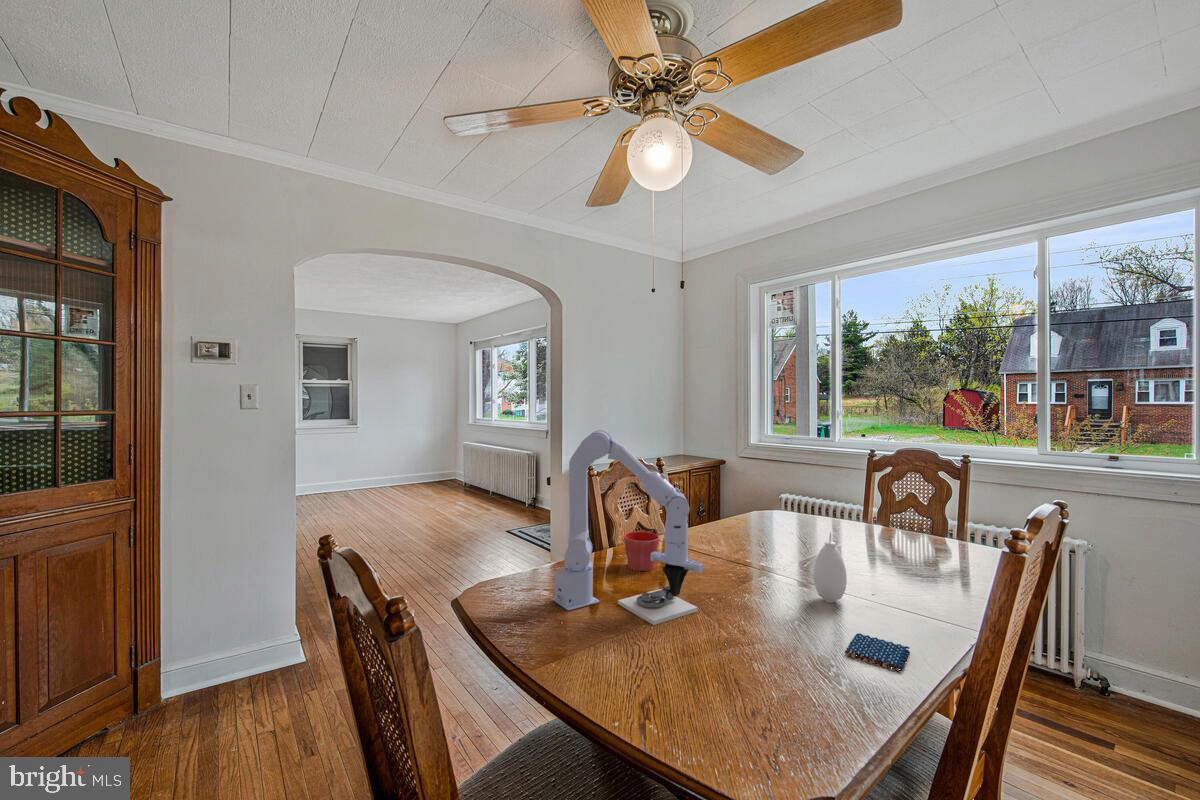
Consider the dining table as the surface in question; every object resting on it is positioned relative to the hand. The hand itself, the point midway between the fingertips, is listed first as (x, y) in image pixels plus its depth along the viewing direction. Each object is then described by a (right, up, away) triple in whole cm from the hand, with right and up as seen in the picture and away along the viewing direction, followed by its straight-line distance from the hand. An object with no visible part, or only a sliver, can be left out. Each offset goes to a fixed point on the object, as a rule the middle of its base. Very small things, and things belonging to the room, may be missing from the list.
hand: (675, 594), depth 128 cm
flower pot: (-6, -3, +28) cm, 29 cm away
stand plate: (-5, -3, -2) cm, 6 cm away
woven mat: (+38, -4, -24) cm, 45 cm away
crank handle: (-5, -1, -1) cm, 5 cm away
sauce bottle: (+40, -3, +3) cm, 41 cm away
